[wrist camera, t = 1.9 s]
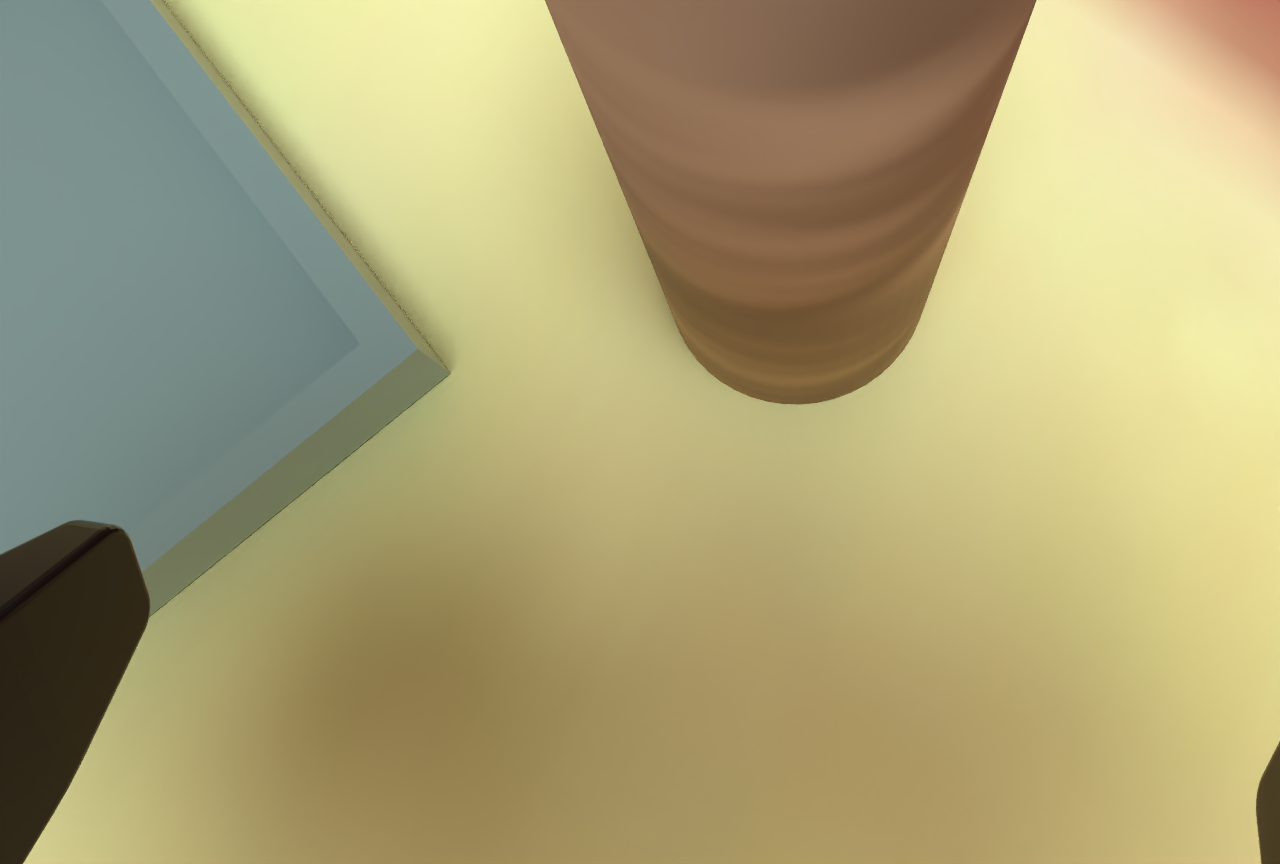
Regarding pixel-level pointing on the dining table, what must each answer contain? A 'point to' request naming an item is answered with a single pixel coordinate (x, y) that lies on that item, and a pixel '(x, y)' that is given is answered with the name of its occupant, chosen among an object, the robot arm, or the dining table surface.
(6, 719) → the robot arm
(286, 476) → the tray
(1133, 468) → the dining table surface
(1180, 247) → the dining table surface
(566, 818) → the dining table surface
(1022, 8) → the pepper mill
